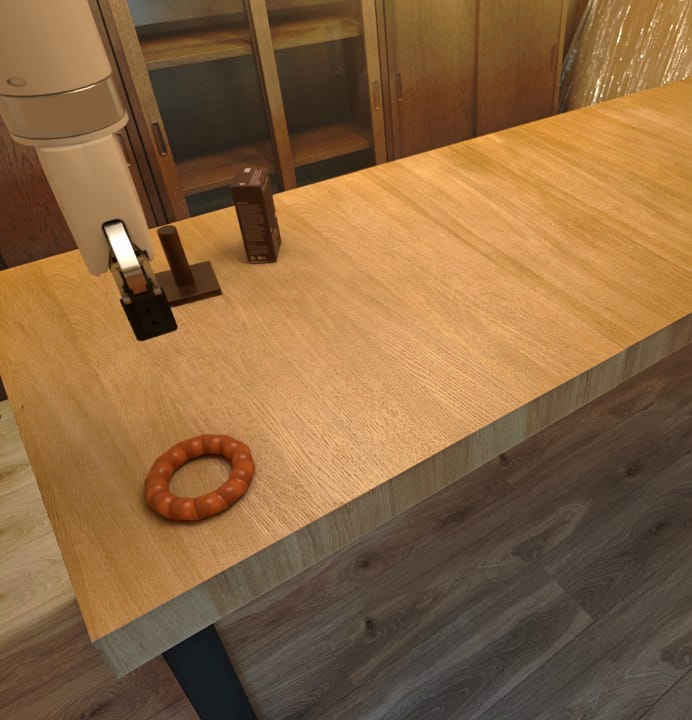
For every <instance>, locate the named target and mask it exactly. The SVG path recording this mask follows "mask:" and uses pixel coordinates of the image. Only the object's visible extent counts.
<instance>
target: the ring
mask: <svg viewBox="0 0 692 720" xmlns="http://www.w3.org/2000/svg"><path fill="white" fill-rule="evenodd" d="M204 455H222V456H224V457H225V458H227V459H229V460H230V462H231V467H232V469H231V472H230V474H229V477H228V479H227V480H225V482H223V483H222V484H221V485H219V487H217V488H216V489H215V490H214V491H211V492H209V493H205V494H203V495H200V496H198V497H178V496H177V495H175V494H174V493H173V492H172V491H170V486H169V482H170V480H171V478H172V476H173V473H174V472H175V471H176V470H177V469H178V468H180V467H181V466H182V465H184V464H185V463H186V462H188V461H189V460H192V459H195V458H198V457H200V456H204ZM255 470H256V463H255V460H254V458H253V455H252V451H251V449H250V447H249V446H248V445H247V444H245V443H243V442H242V441H240V440H239V439H237V438H235V437H233V436H232V435H230V434H218V433H217V434H214V433H213V434H212V433H202V434H200V435H196V436H193V437H191V438H188V439H187V438H186V439H184V440H182V441H179V442H177V443H175V444H174V445H173V446H171V447H170V448H168V449H167V450H166V451H165V452H163V453H162V454H161V455H159V456H158V457H156V459H155V460H154V462H153V464H152V466H151V468H150V469H149V471H148V472H147V475H146V477H145V478H144V482H143V483H144V484H143V486H144V491H145V498H146V502H147V505H148V506H149V507H150V508H151V509H153V510H154V511H155V512H157V513H158V514H160V515H161V516H163V517H164V518H166V519H168V520H173V521H175V520H177V521H199V520H200V521H201V520H202V519H205V518H208V517H210V516H212V515H215V514H218V513H221V512H224V511H225V510H227V509H228V508H230V506H232V505H233V504H234V503H235V502H236V501H237V500H238V499H239V498H240V497H242V496H243V495H244V494H245V493H246V492H247V491H248V488H249V486H250V484H251V481H252V480H253V479H252V478H253V476H254V473H255Z"/></svg>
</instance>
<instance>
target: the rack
mask: <svg viewBox="0 0 692 720" xmlns="http://www.w3.org/2000/svg"><path fill="white" fill-rule="evenodd" d="M156 234H157V237H158V239H159V243H160V245H161V248H162V250H163V253H164V256H165V259H166V261H167V264H168V267H169V269H168V270H163V271H159V272H155V273H154V275H155V278H156V280H157V282H158V285H159V287H163V289H164V292H165V294H166V297H167V300H168V302H169V305H170V307H171V308H174V307H177V306H182V305H185V304H189V303H193V302H197V301H201V300H205V299H208V298H211V297H213V298H214V297H216V296H220V295H223V292H222V289H221V287H220V284H219V280H218V279H217V276H216V273H215V271H214V268H213V266H212V263H211V261H210V260H204V261H201V262H197V263H193V264H189V263H190V262H189V261H188V258H187V255H186V252H185V249H184V246H183V243H182V240H181V237H180V234H179V231H178V229H177V227H176V226H175V225H173V224H167V225H163V226H160V227H158V228H157V230H156Z"/></svg>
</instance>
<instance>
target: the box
mask: <svg viewBox="0 0 692 720" xmlns="http://www.w3.org/2000/svg"><path fill="white" fill-rule="evenodd" d="M230 192H231V196H232V200H233V205H234V209H235V213H236V217H237V222H238V226H239V230H240V234H241V238H242V243H243V247H244V252H245V256H246V260H247V263H249V264H250V263H251V264H264V263H265V264H266V263H275V262H277V260H278V257H279V252H280V249H281V245H282V242H283V241H282V237H281V231H280V226H279V221H278V216H277V211H276V207H275V206H276V205H275V201H274V196H273V190H272V184H271V180H270V175H269V169H268V168H264V167H250V168H249V167H246V168H245V167H244V168H241V167H240V168H238V169H237V171H236V174H235V175H234V176H233V179H232V182H231V185H230Z"/></svg>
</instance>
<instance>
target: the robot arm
mask: <svg viewBox="0 0 692 720" xmlns="http://www.w3.org/2000/svg"><path fill="white" fill-rule="evenodd" d="M109 60H110V59H109V58H108V55H107V52H106V49H105V47H104V44H103V41H102V38H101V35H100V33H99V30H98V27H97V25H96V22H95V17H94V15H93V13H92V10H91V7H90V4H89V1H88V0H0V115H1V118H2V119H3V121H4V124H5V126H6V128H7V131H8V132H9V134H10V137H11V138H12V140H13V141H14V142H16V143H18V144H20V145H23V146H26V147H33V148H34V149H35V153H36V155H37V157H38V160H39V163H40V165H41V168H42V170H43V172H44V175H45V178H46V180H47V182H48V184H49V186H50V189H51V191H52V193H53V196H54V197H55V200H56V202H57V205H58V207H59V209H60V211H61V213H62V215H63V218H64V220H65V222H66V224H67V226H68V228H69V231H70V233H71V236H72V237H73V240H74V242H75V245H76V246H77V247H78V251H79V253H80V255H81V257H82V260H83V262H84V264H85V266H86V268H87V271H88V273H89V274H90V275H92V276H95V277H100V276H101V274H105V273H108V272H109V271H110V273H111V275H112V277H113V280H114V282H115V285H116V287H117V289H118V292H119V294H120V297H121V298H120V299H119V303H120V305H121V307H122V310H123V312H124V314H125V316H126V318H127V321H128V323H129V325H130V327H131V330H132V332H133V334H134V336H135V338H136V340H137V341H138V342H145V341H149V340H151V339H153V338H157V337H160V336H161V337H162V336H163V335H166V334H171V333H173V332H176V331H177V330H178V328H179V326H178V323H177V320H176V317H175V315H174V313H173V310H172V307H170V305H169V302H168V300H167V297H166V294H165V292H164V289H163V287H159V285H158V282H157V280H156V278H155V275H154V274H155V273H154V270H153V268H152V265H151V262H152V261H154V259H155V258H156V255H157V254H156V250H155V248H154V247H155V246H154V243H153V239H152V237H151V233H150V229H149V226H148V223H147V219H146V216H145V213H144V210H143V205H142V203H141V200H140V198H139V194H138V192H137V188H136V185H135V183H134V180H133V176H132V174H131V171H130V169H129V166H128V162H127V160H126V157H125V154H124V152H123V149H122V146H121V143H120V141H119V138H118V135H117V132H119V131H120V130H121V129H123V128H124V127H125V126H127V124H128V122H129V120H130V118H129V114H128V111H127V109H126V106H125V102H124V100H123V97H122V95H121V91H120V88H119V86H118V83H117V80H116V78H115V77H116V76H115V74H114V73H113V69H112V67H111V64H110V61H109Z"/></svg>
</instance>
